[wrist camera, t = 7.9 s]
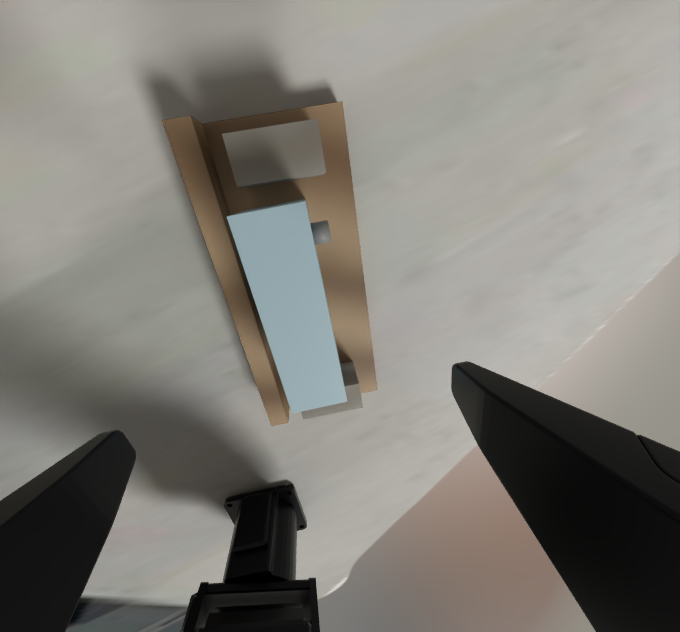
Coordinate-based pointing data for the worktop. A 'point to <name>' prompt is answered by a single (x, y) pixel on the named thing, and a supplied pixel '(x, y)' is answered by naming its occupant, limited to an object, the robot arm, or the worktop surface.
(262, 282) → the door panel
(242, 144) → the rail
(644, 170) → the worktop surface
